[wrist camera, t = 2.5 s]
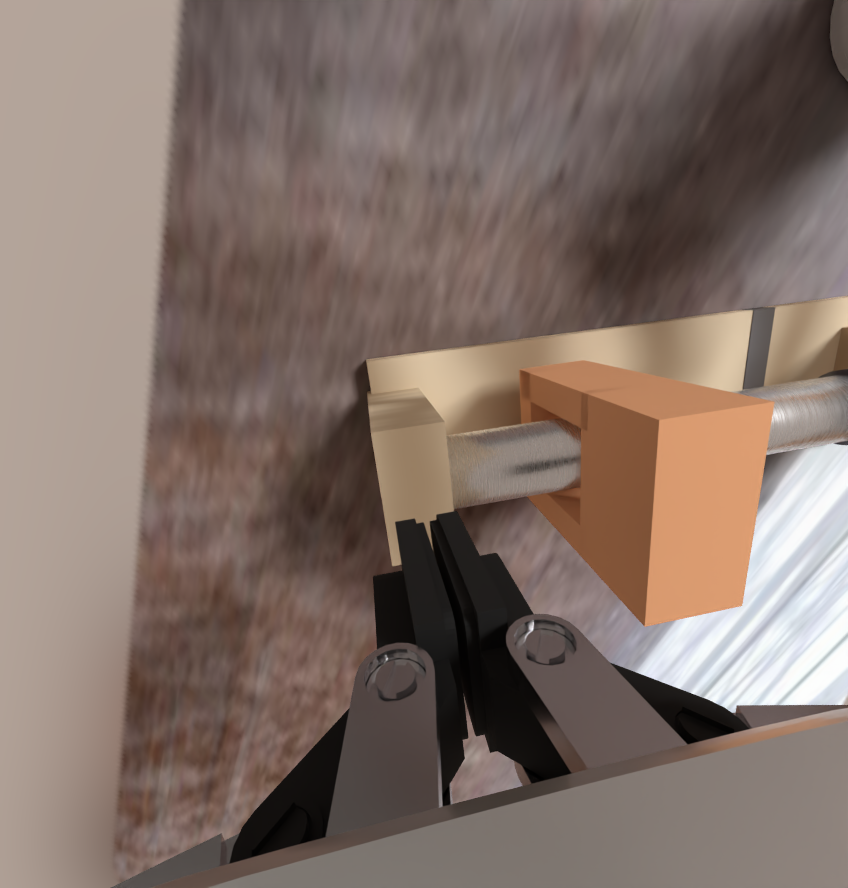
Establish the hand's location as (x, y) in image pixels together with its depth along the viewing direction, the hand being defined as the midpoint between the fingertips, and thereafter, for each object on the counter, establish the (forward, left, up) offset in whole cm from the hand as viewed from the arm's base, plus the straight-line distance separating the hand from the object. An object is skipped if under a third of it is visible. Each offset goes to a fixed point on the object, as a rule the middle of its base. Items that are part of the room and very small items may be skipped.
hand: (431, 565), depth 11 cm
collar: (0, +7, -8) cm, 11 cm away
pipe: (0, +13, -7) cm, 14 cm away
